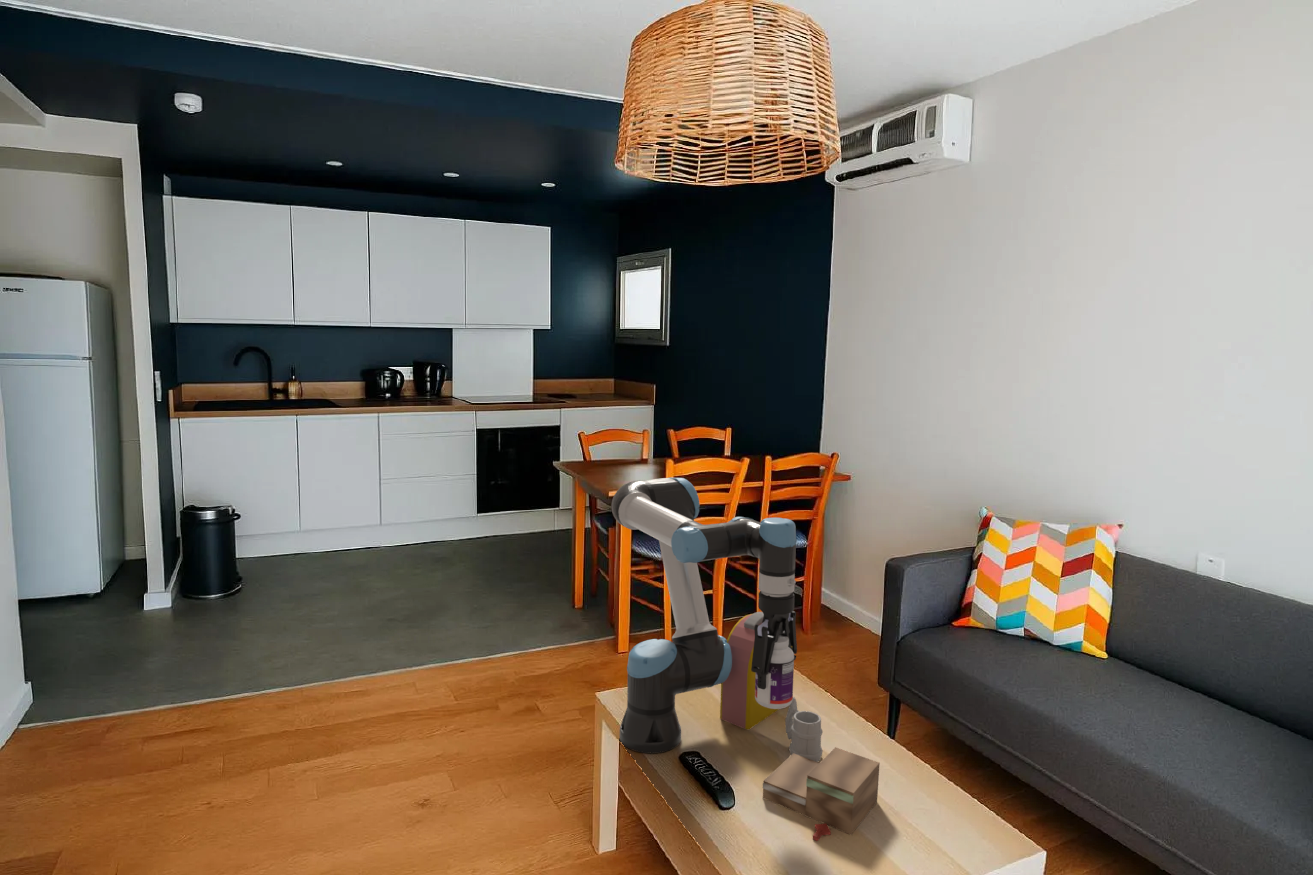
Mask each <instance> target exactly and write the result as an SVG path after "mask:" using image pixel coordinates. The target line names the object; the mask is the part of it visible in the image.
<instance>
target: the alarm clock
mask: <svg viewBox="0 0 1313 875" xmlns="http://www.w3.org/2000/svg"><path fill="white" fill-rule="evenodd" d="M763 616H764V614H763V612H762V611H757V612H754V613H750V614H745V615H744V616H743V617H742V618H740V619H739V620H738V621H737V622H736V624H734V626H733V627H732V629H731V631H730V633H729V635H728V637H727V639H726V640H727V643H728V644H729V646H730V648H731V653H732V668H731V672H730V673H729V676H728V678H727V679H726V680H725V681H724V682H723V683H721V684H720V705H719V706H720V708H719V709H720V710H719V712H720V713H719V719H721V720H722V721H725V722H727V723H729V724H732V725H735V726H737V727H740V728H742V729H744V730H751V729H752V728H754V727H755V726H757V725H759V723H761V722H763V721H764V720H766V719H767V718H768V717H770V716H772V715H773V714H774V713H776V712H777V711H778V710H780V709H771V708H767V707H764V706H762V705H760V704H759V703H758V702H757V701H756V699H755V678H756V673H755V672H752V671H751V667H752V658H753V649H754V640H755V630H754V627H755V625H761V624H762V620H763ZM791 647H792V646H791Z"/></svg>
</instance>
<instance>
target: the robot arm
mask: <svg viewBox="0 0 1313 875" xmlns="http://www.w3.org/2000/svg"><path fill="white" fill-rule="evenodd" d="M700 505H701V504H700V499H699V495H698V492H697V490H696V488H695V486H694V485H693V484H692V483H691V482H690V481H689V480H688V479H686V478H684V477H673V476H672V477H663V478H654V479H644V480H643V479H642V480H641V479H639V480H633V481H629V482H627V483H625V484H622V486H621V487H619V488H618V489H617V490H616V492H615V494H614V495H613V497H612V500H611V512H612V516H613V517H614V519H615V520H616V521H617V523H618V524H619V525H621V526H623V528H627V529H628V530H631V531H632V530H634V531H635V530H639V531H640V532H643V533H644V534H646V535H648V536H650V537H653V538H654V539H656V540H658V543H659V547H660V554H661V557H662V558H661V559H662V564H663V568H664V572H665V573H664V574H665V578H666V583H667V590H668V592H669V593H668V594H669V598H670V599H669V600H670V604H671V609H672V614H673V619H674V624H675V633H673V635H672V637H671V640H672V641H671V640H668V639H664V638H660V639H657V638H652V639H647V640H644V641H640V642H639V643H637V644H636V645H634V646H633V647H632V648H631V649H630V650H629V653H628V660H627V666H626V671H627V689H626V690H627V692H626V693H627V696H626V697H627V698H626V699H627V702H626V710H625V712H624V715H623V716H622V717H623V718H622V720H621V722H620V723H621V724H620V726H619V740H620V742H621V744H622V745H623V746H625V747H626V748H627V749H629V750H631V751H634V752H638V753H643V754H644V753H645V754H658V753H659V754H660V753H665V752H668V751H670V750H673V749H675V748H676V747H678V745H679V744H680V742H682V726H681V724H680V720H679V718H678V714H677V711H676V706H675V705H676V695H679V694H684V693H688V692H693V691H697V690H701V689H706V688H708V689H709V688H712V687H714V686H717V685H721V683H723V682H724V681H725V680H726V679H727V678H728V676H729V673H730V672H731V668H732V653H731V648H730V646H729V644H728V643H727V639H726V637H724V636H722V635H720V634H719V632H718V628H717V627H715V626H713V625H712V624H711V623H710V619H709V615H708V609H707V605H706V604H707V603H706V598H705V595H704V590H703V585H702V581H701V575H700V572H699V566H698V563H700V562H706V561H711V560H719V559H724V558H732V557H741V556H751V557H753V558H755V559H758V560H759V563H758V564H759V566H758V567H759V568H758V590H759V592H758V601H757V602H758V609H759V611H760V612H763V614H764V616H763V620H762V624H761V625H755V627H754V630H755V640H754V649H753V658H752V667H751V671H752V672H755V673H757V674H758V682H757V701H760V702H763V703H766V704H769V703H770V687H771V673H768V672H769V667H770V663H771V658H772V654H773V649H774V645H775V643H776V642H777V641H778V637H779V635H782V636H787V637H788V638H789V645H788V647H789V648H791V649H792V651H793V653H794V661H796V659H797V655H796V654H797V652H798V644H797V628H796V627H797V626H796V617H797V612H796V611H794V610H795V594H794V592H795V584H796V583H797V582H796V580H795V578H796V576H795V575H796V574H795V573H796V556H797V554H796V551H797V550H796V549H797V542H798V541H797V533H796V532H797V531H796V530H797V528H796V523H795V522H794V521H793V520H791V519H789V518H784V517H783V518H782V517H766V518H764V519H762V520H761V521H757V520H754V519H753V518H751V517H744V516H735V517H733V518H732V519H731V520H729V521H727V522H720V523H711V524H703V523H701V522H697V521H695V519H697V517H698V515H699V513H700V509H699V508H700ZM768 635H769V636H773V638H772V637H768ZM791 646H792V647H791Z"/></svg>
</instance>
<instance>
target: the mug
mask: <svg viewBox="0 0 1313 875" xmlns="http://www.w3.org/2000/svg"><path fill="white" fill-rule="evenodd" d="M784 721H785V723H784V724H785V733H786V736H787V739H788V740H791V742H790V744H789V747H788V749H789V750H788V751H789V753H790V754H789V755H790V756H791V755H792V754H793V753H794V754H797V755H799V756H802V757H805V758H808V759H810V760H813V761H816V762H818V763H820V762H821V758H822V755H823V747H822V735H823V732H824V731H823V729H822V718H821V716H820V715H819V714H818V713H815V712H813V711H810V710H799V709H798V703H797V699H796V698H795V696H793V700H792V703H791V704H790V705H789V706H788V710H787V713H786V716H785V720H784Z"/></svg>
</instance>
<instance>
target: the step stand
mask: <svg viewBox="0 0 1313 875" xmlns="http://www.w3.org/2000/svg"><path fill="white" fill-rule="evenodd" d="M879 776H880V762H879V761H877V760H873V759H869V758H867V757H865V756H862V755H858V754H856V753H853V752H852V751H848V750H845V749H841V748H839V747H837V746H835V747H834V748H833V749H832V750H831V751H830V752H829V753H828V754H827V755H826V756H825V757H823V759H822V760H820V761H819V762H816V761H813V760H810V759H808V758H805V757H802V756H799V755H797V754H794V753H793V754H792V755H790V756H789V757H788V758H786V759H785V760H784V761H783V762H782V763H781V764H780V765H779V766H777V767H776V769H775V770H774V771H772V772H770V774H769V775H768V776H766V777H765V778H764V779H763V780H762V799H763V800H764V799H765V800H767V801H769V802H771V803H774V804H777V805H779V806H781V807H783V808H786V809H788V810H790V811H792V812H796V813H798V814H799V815H803V816H805V817H807V818H810V819H811V820H815V821H817V822H819V823H815V824H814V829H815V833H813V834H812V840H814V841H816V842H818V841H819V840H820V839H821V838H822V837H823V836H829V835H831V832H832V831H831V829H830V828H831V827H832V828H833V829H837V830H838V831H841V832H843V833H846V834H849V835H852V834H853V833H854V832H855V831H856V829H857V828H858V827H859V826H860V824H861V823H862V822H863V821H864V820H865V819H866V817H867V815H868V814H869V813H870V811H871V810H872V809H873V808H874V807H875V805H876V804H877V803H878V795H879V793H878V791H879V781H880V780H879V779H880V778H879Z"/></svg>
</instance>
